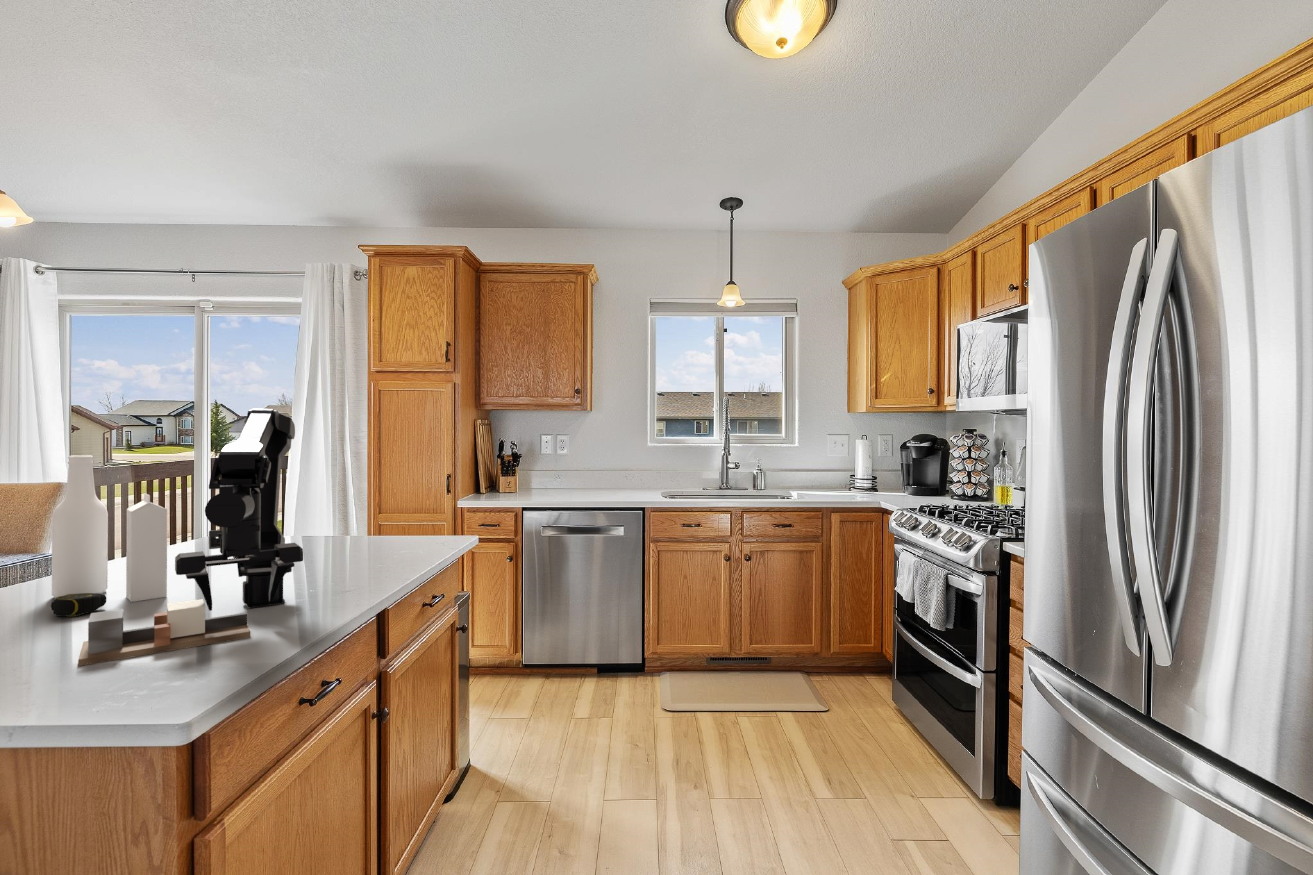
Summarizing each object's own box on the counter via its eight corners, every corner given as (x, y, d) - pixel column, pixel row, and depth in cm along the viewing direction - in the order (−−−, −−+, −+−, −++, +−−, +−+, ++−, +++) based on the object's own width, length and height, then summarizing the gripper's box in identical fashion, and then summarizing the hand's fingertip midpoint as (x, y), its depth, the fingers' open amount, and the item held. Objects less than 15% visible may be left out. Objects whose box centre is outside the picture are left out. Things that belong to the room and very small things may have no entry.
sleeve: (202, 624, 110) (202, 599, 110) (204, 632, 106) (205, 605, 106) (166, 630, 107) (167, 603, 107) (167, 638, 103) (167, 611, 103)
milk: (130, 602, 128) (130, 496, 128) (126, 596, 132) (125, 493, 132) (167, 596, 133) (167, 494, 132) (162, 591, 137) (161, 491, 136)
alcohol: (97, 587, 139) (98, 454, 139) (114, 593, 135) (115, 455, 134) (44, 596, 131) (45, 455, 131) (60, 602, 127) (61, 456, 127)
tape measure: (108, 609, 124) (109, 590, 124) (83, 619, 117) (83, 599, 117) (69, 610, 123) (69, 591, 123) (41, 620, 116) (41, 600, 116)
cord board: (243, 622, 116) (243, 590, 116) (250, 637, 108) (250, 602, 108) (83, 647, 102) (83, 611, 102) (78, 666, 94) (78, 626, 94)
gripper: (292, 510, 123) (291, 588, 123) (173, 517, 111) (173, 604, 111) (304, 516, 115) (303, 600, 115) (176, 525, 103) (176, 619, 103)
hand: (241, 605), depth 111 cm, fingers open, 9 cm apart
